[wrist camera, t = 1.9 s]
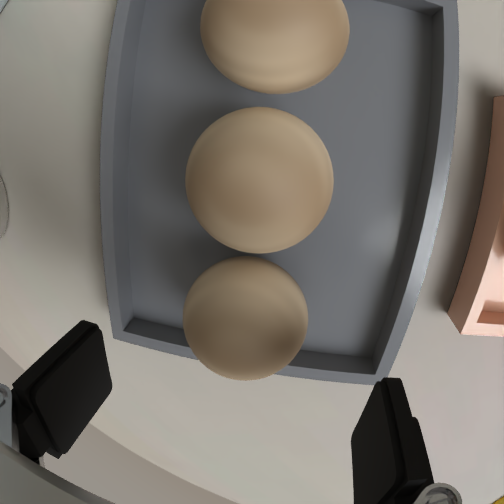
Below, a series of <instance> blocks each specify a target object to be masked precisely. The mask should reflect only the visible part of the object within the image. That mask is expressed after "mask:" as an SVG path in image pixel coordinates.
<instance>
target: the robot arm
mask: <svg viewBox="0 0 504 504" xmlns="http://www.w3.org/2000/svg"><path fill="white" fill-rule="evenodd" d="M12 385H13V389H12V390H10V389H9V388H8V387H7V386H6V385H4V384H1V383H0V504H115V503H113V502H110V501H108V500H106V499H103V498H101V497H99V496H97V495H95V494H92V493H90V492H88V491H86V490H84V489H82V488H80V487H78V486H76V485H74V484H72V483H70V482H68V481H67V480H64V479H63V478H61V477H59V476H57V475H56V474H54V473H52V472H50V471H49V470H47V469H45V465H44V459H43V455H44V453H45V452H47V453H49V454H50V455H52V456H54V457H56V458H57V459H59V458H60V456H61V455H62V454H65V453H67V452H68V451H69V449H70V448H71V446H72V445H73V444H74V442H75V441H76V439H77V438H78V436H79V435H80V434H81V432H82V431H83V430H84V428H85V427H86V425H87V424H88V423H89V421H90V420H91V419H92V417H93V416H94V415H95V413H96V412H97V410H98V409H99V408H100V406H101V405H102V404H103V402H104V401H105V399H106V398H107V397H108V395H109V394H110V392H111V390H112V381H111V377H110V372H109V367H108V362H107V357H106V352H105V346H104V340H103V334H102V331H101V330H100V329H99V327H98V325H97V324H95V323H91V322H88V321H85V320H82V321H80V322H79V323H78V324H77V325H76V326H74V327H73V328H72V329H71V330H70V331H69V332H68V333H67V334H66V335H64V336H63V337H62V338H61V339H60V340H59V341H58V342H57V343H56V344H54V345H53V346H52V347H51V348H50V349H49V350H48V351H47V352H46V353H45V354H44V355H42V356H41V357H40V358H39V359H38V360H37V361H36V362H35V363H34V364H33V365H32V366H31V367H30V368H29V369H27V370H26V371H25V372H24V373H23V374H22V375H21V376H20V377H19V378H18V379H17V380H16V381H15V382H14V383H13V384H12ZM351 449H352V466H353V488H354V504H462V499H461V496H460V494H459V492H458V491H457V490H456V489H455V488H454V487H452V486H451V485H448V484H446V483H435V484H434V480H433V476H432V471H431V467H430V463H429V459H428V455H427V451H426V447H425V443H424V440H423V436H422V432H421V429H420V425H419V422H418V420H417V418H415V417H412V414H411V410H410V407H409V403H408V400H407V397H406V393H405V390H404V387H403V383H402V380H401V379H400V378H388V377H384V378H383V379H382V380H381V381H377V382H376V383H375V386H374V388H373V390H372V393H371V395H370V397H369V399H368V402H367V404H366V406H365V408H364V410H363V412H362V415H361V417H360V419H359V421H358V423H357V425H356V427H355V429H354V431H353V434H352V438H351Z"/></svg>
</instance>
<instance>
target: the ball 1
mask: <svg viewBox="0 0 504 504" xmlns="http://www.w3.org/2000/svg"><path fill="white" fill-rule="evenodd" d="M200 33H201V39H202V43H203V46H204V49H205V51H206V53H207V55H208V57H209V59H210V60H211V62H212V63H213V64H214V66H215V67H216V68H217V69H218V70H219V71H220V72H221V73H222V74H223V75H224V76H225V77H227V78H228V79H230V80H231V81H232V82H234V83H236V84H238V85H240V86H242V87H244V88H247V89H250V90H253V91H256V92H260V93H267V94H287V93H293V92H298V91H301V90H304V89H307V88H309V87H311V86H314V85H316V84H317V83H319V82H321V81H322V80H324V79H325V78H326V77H327V76H328V75H330V74H331V72H332V71H333V70H334V69H335V68H336V67H337V66H338V64H339V63H340V61H341V60H342V58H343V56H344V54H345V52H346V49H347V45H348V41H349V34H350V25H349V19H348V14H347V11H346V8H345V6H344V4H343V2H342V0H206V2H205V5H204V7H203V10H202V14H201V22H200Z"/></svg>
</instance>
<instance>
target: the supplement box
mask: <svg viewBox="0 0 504 504" xmlns="http://www.w3.org/2000/svg"><path fill="white" fill-rule="evenodd" d="M7 1H8V0H0V12H1V11H2V9H3V8H4V6H5V5H6V3H7Z"/></svg>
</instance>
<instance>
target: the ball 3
mask: <svg viewBox="0 0 504 504" xmlns="http://www.w3.org/2000/svg"><path fill="white" fill-rule="evenodd" d="M307 327H308V309H307V304H306V300H305V297H304V295H303V293H302V291H301V289H300V287H299V285H298V284H297V282H296V281H295V280H294V279H293V277H292V276H291V275H290V274H289V273H288V272H287V271H285V270H284V269H283V268H282V267H280V266H278V265H277V264H275V263H273V262H271V261H268V260H266V259H263V258H258V257H252V256H239V257H233V258H228V259H225V260H222V261H220V262H218V263H216V264H214V265H212V266H211V267H209V268H208V269H206V270H205V271H204V272H203V273H202V274H201V275H200V276H199V277H198V278H197V279H196V281H195V282H194V283H193V285H192V287H191V288H190V290H189V292H188V294H187V297H186V300H185V303H184V308H183V329H184V333H185V337H186V340H187V342H188V344H189V346H190V348H191V350H192V352H193V353H194V355H195V356H196V357H197V358H198V360H199V361H200V362H201V363H202V364H204V365H205V366H206V367H207V368H208V369H210V370H211V371H213V372H215V373H216V374H219V375H221V376H223V377H226V378H230V379H234V380H245V381H246V380H257V379H261V378H265V377H268V376H270V375H272V374H274V373H276V372H278V371H280V370H281V369H283V368H284V367H285V366H286V365H288V364H289V363H290V362H291V361H292V360H293V359H294V357H295V356H296V354H297V353H298V352H299V350H300V348H301V346H302V344H303V342H304V340H305V336H306V333H307Z"/></svg>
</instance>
